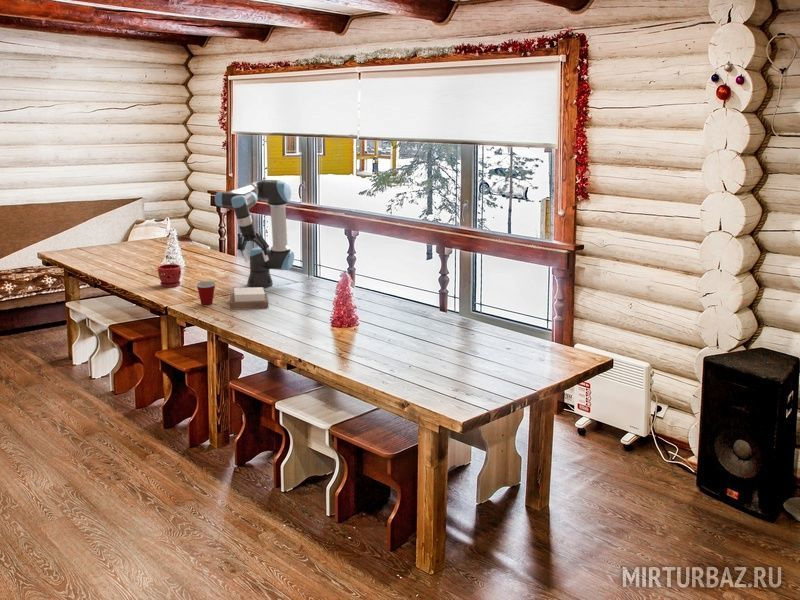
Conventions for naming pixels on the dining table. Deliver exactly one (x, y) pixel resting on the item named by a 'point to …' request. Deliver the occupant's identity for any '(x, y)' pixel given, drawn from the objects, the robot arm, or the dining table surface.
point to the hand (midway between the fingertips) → (257, 261)
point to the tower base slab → (248, 303)
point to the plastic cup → (206, 292)
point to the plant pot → (169, 275)
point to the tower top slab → (249, 294)
